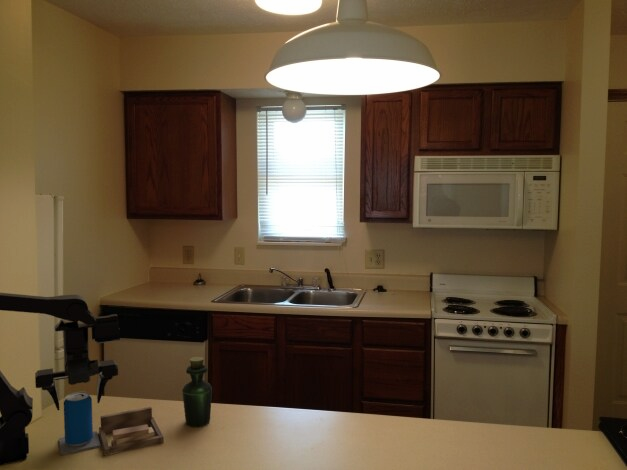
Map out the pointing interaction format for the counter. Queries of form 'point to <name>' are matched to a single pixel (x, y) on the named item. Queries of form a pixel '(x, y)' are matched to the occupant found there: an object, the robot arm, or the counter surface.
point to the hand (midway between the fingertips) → (78, 406)
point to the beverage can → (78, 418)
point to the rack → (126, 421)
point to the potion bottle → (197, 395)
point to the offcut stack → (131, 434)
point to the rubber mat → (72, 449)
